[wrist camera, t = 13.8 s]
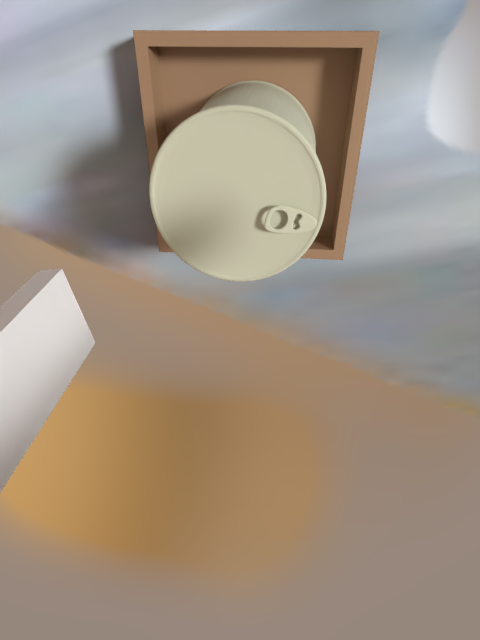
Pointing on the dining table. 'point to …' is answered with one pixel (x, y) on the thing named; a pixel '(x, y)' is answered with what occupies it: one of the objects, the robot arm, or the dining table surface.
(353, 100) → the brown square tray
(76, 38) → the dining table surface
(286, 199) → the can
